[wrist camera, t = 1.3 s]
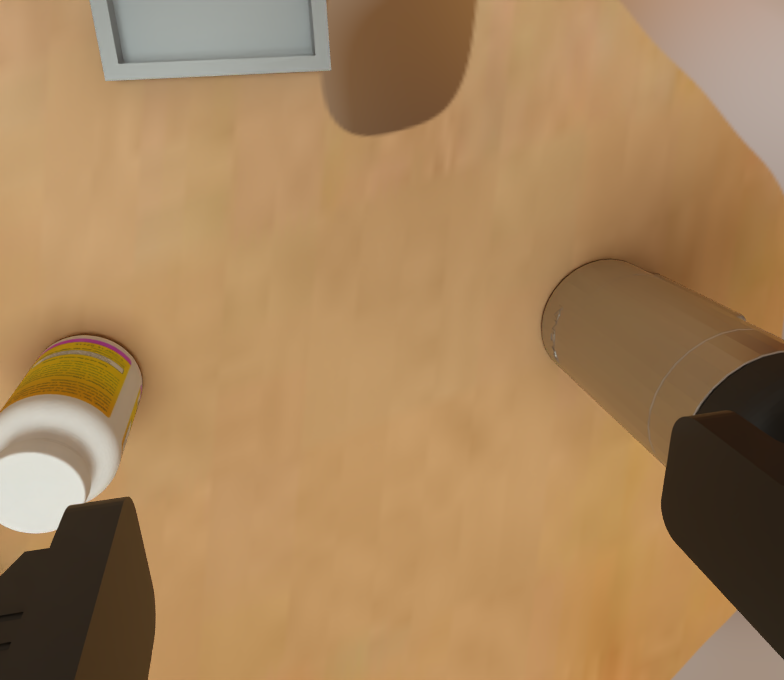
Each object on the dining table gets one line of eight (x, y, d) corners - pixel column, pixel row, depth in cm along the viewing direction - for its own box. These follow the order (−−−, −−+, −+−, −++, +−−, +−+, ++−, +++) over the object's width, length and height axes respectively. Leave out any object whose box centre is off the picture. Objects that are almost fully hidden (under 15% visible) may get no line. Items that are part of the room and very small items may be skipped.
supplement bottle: (19, 343, 41) (-71, 451, 29) (126, 322, 42) (81, 418, 30) (56, 433, 44) (-13, 564, 32) (156, 411, 45) (125, 531, 33)
